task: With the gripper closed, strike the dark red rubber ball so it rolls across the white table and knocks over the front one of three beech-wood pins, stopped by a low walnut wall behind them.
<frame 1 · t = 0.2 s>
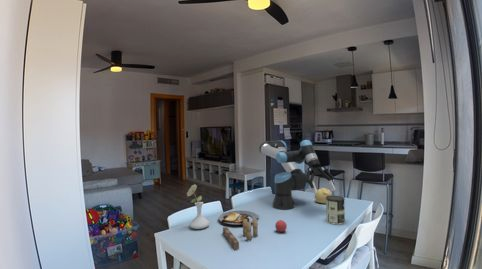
hand: (325, 191, 156), 16 cm above the table, tool tilted 35°, fingers open, 13 cm apart
flower in vase: (198, 227, 145), on the table
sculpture: (323, 202, 187), on the table
back wall: (230, 240, 126), on the table
front pin: (255, 236, 131), on the table
pin 1: (245, 235, 132), on the table
pin 2: (249, 239, 127), on the table
ball: (280, 226, 136), on the table
coffee can: (335, 221, 149), on the table
food plate: (238, 220, 155), on the table
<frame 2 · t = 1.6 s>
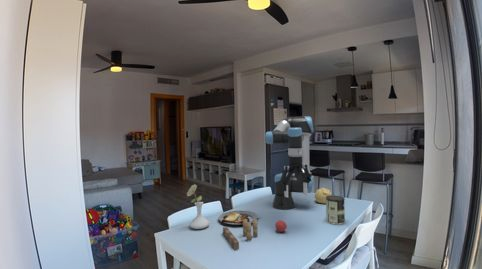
hand: (296, 195, 139), 18 cm above the table, tool pointing down, fingers open, 11 cm apart
nothing on the table moved.
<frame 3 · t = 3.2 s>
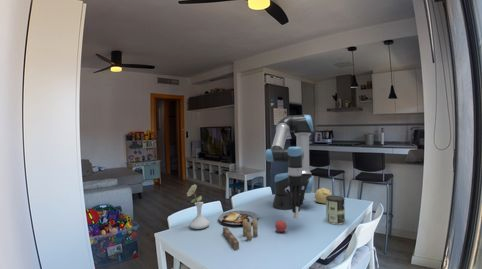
hand: (296, 218, 139), 6 cm above the table, tool pointing down, fingers closed
nothing on the table moved.
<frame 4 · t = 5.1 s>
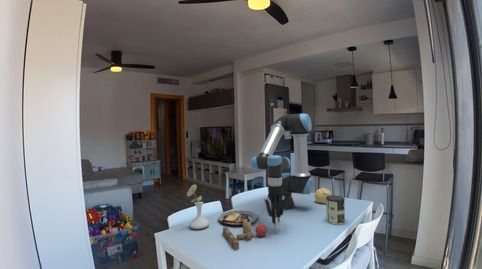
hand: (276, 228, 135), 2 cm above the table, tool pointing down, fingers closed
front pin: (253, 234, 130), point 1 cm above the table, tilted 90°
ball: (261, 229, 131), on the table
everything else where it was.
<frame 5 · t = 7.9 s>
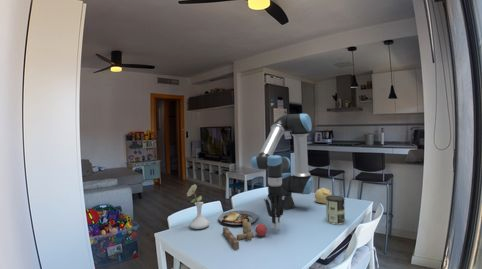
hand: (276, 228, 135), 2 cm above the table, tool pointing down, fingers closed
nothing on the table moved.
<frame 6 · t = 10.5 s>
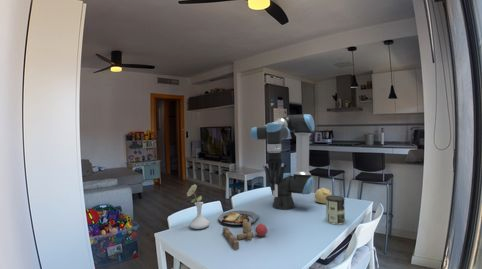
hand: (275, 196, 135), 19 cm above the table, tool pointing down, fingers closed
nothing on the table moved.
at the end: front pin tilted 90°; front pin never touched the robot; ball moved 11.9 cm from its start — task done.
